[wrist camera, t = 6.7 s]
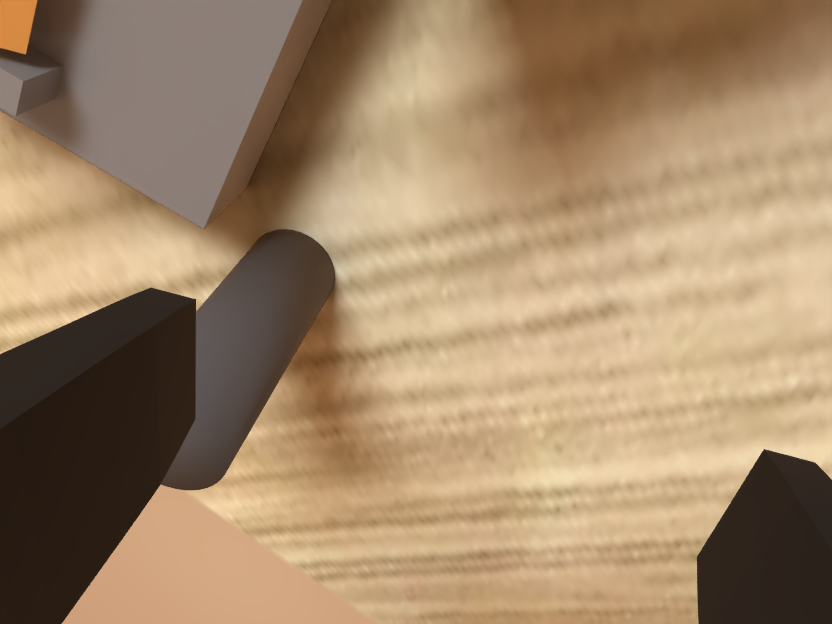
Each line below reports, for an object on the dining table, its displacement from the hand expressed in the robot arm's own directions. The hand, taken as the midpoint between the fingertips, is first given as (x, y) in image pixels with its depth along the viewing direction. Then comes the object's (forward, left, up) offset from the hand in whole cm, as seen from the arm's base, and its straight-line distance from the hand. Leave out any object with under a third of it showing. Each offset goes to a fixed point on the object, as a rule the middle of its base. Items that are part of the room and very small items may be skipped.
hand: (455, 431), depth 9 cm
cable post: (+3, +6, -9) cm, 11 cm away
